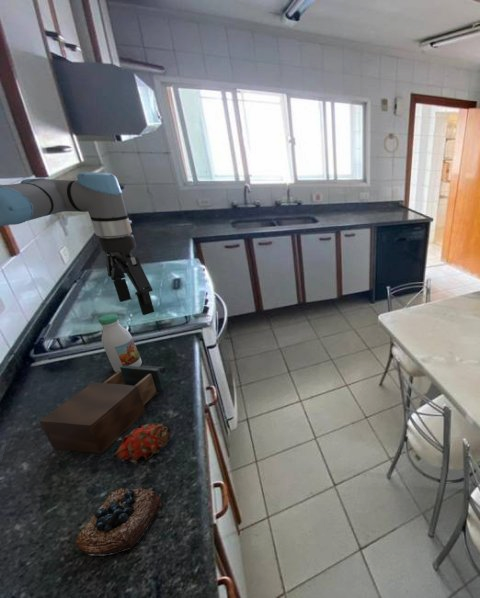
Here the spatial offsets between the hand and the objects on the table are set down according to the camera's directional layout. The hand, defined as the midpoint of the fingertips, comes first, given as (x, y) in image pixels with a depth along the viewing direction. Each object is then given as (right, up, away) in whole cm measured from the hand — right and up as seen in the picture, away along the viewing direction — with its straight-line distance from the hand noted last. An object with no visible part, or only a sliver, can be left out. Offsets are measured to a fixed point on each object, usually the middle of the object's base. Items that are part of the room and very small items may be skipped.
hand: (136, 306), depth 96 cm
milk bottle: (-17, -22, +17) cm, 32 cm away
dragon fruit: (+13, -37, -12) cm, 41 cm away
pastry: (+20, -45, -28) cm, 56 cm away
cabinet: (-4, -33, -6) cm, 34 cm away
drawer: (-3, -28, +4) cm, 28 cm away
